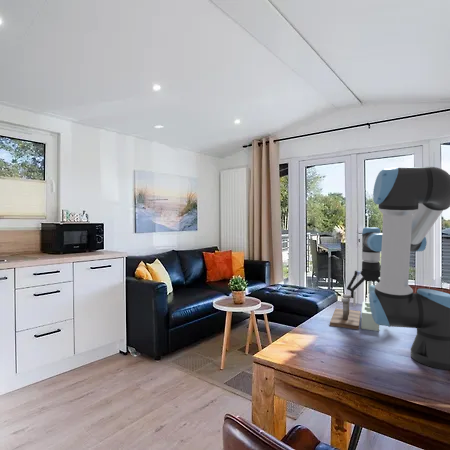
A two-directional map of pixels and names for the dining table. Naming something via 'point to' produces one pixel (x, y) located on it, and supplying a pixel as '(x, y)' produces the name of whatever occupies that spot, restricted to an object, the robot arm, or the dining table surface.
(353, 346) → the dining table surface
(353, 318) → the board
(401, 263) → the robot arm
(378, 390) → the dining table surface
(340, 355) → the dining table surface
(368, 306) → the two-pocket foam insert
